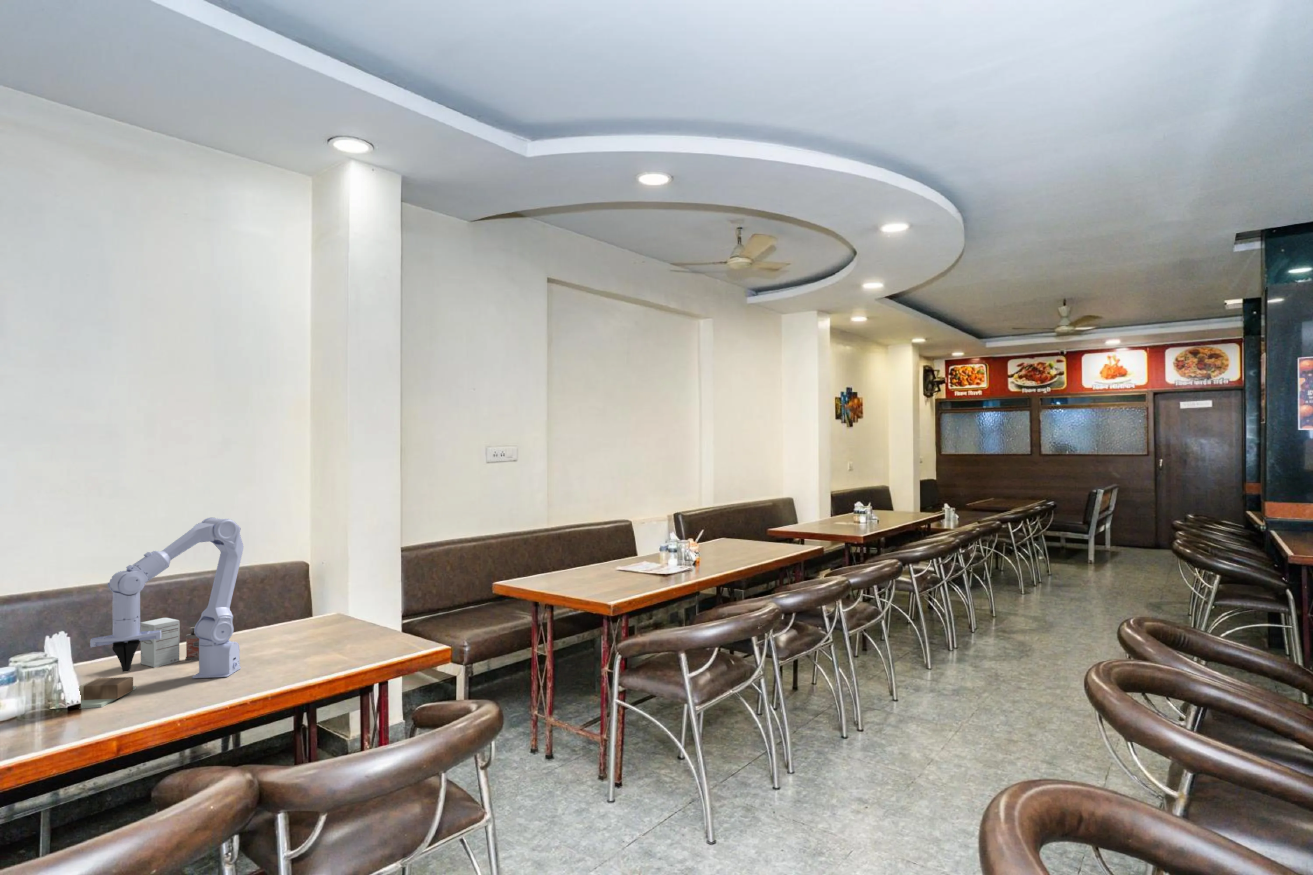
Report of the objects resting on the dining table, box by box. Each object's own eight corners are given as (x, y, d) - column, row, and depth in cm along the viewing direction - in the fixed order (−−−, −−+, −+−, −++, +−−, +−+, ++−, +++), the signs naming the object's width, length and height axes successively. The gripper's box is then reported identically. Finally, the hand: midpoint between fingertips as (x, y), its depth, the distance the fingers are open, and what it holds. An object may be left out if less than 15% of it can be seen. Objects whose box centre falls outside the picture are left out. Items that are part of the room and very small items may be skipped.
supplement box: (139, 664, 206) (139, 622, 206) (166, 657, 212) (166, 616, 212) (153, 668, 202) (153, 624, 202) (180, 661, 209) (180, 619, 209)
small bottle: (183, 661, 208) (183, 628, 208) (188, 657, 212) (188, 625, 212) (214, 658, 211) (213, 625, 211) (217, 655, 214) (217, 623, 214)
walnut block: (133, 676, 181) (96, 678, 180) (117, 684, 175) (79, 686, 174) (133, 690, 181) (96, 691, 180) (117, 698, 175) (79, 700, 174)
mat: (135, 688, 184) (135, 682, 184) (101, 707, 172) (101, 699, 172) (87, 690, 183) (87, 684, 183) (49, 709, 170) (49, 702, 170)
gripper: (163, 611, 185) (163, 661, 185) (94, 618, 178) (94, 670, 178) (159, 616, 179) (159, 669, 179) (88, 624, 172) (88, 678, 172)
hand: (126, 670), depth 178 cm, fingers closed
